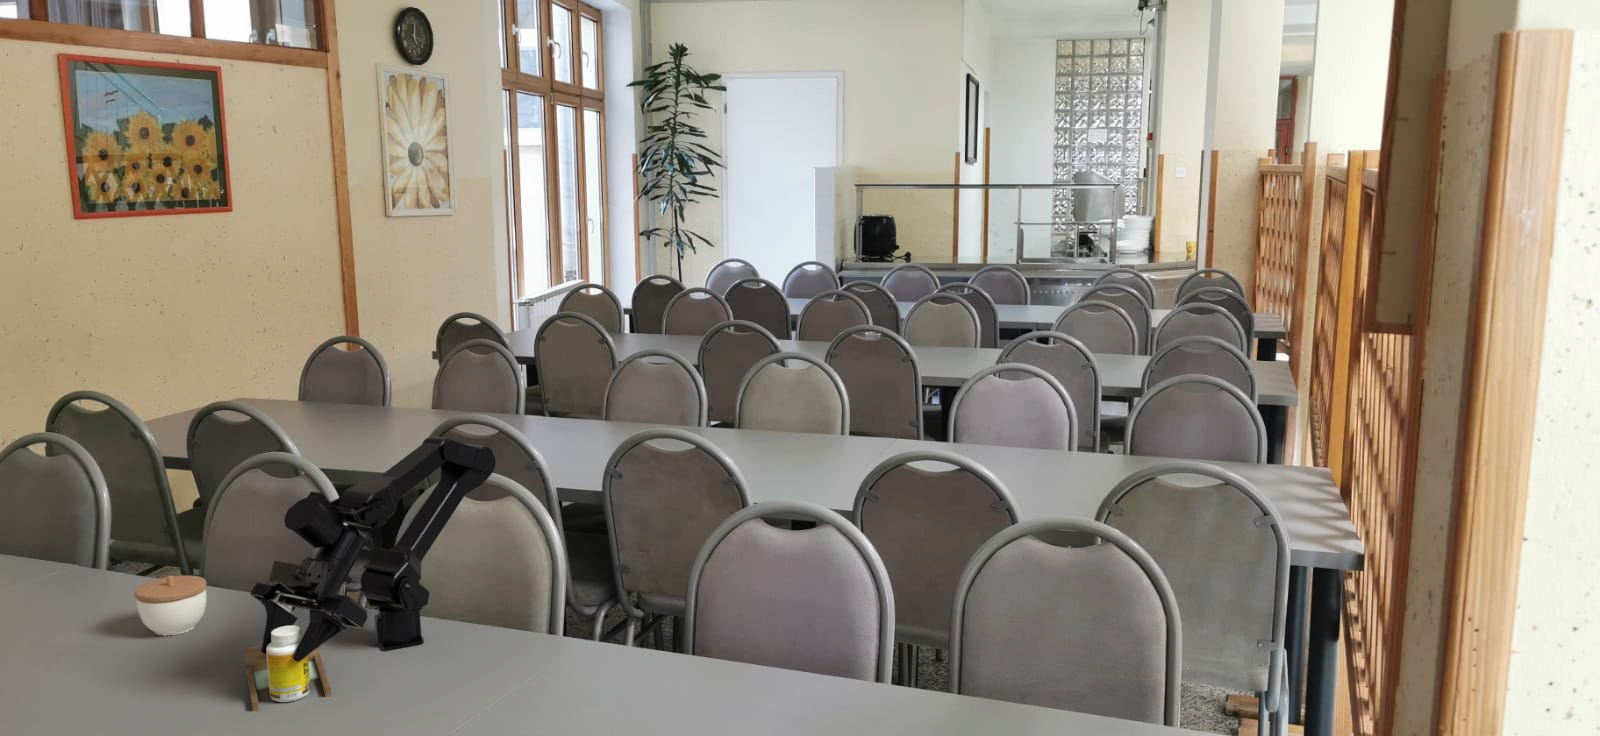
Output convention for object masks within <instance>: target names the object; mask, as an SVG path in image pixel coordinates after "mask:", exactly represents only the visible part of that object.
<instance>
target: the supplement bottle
mask: <svg viewBox="0 0 1600 736" xmlns="http://www.w3.org/2000/svg"><path fill="white" fill-rule="evenodd" d="M301 639H302V633H301V628H300V627H299V626H298V625H294V624H293V625H290V626H282V627H279V628H276V629H274V630H273V631H272V632H271V640H272V641H271V643H270V644H269V645H268V646H267V648H266V654H267V666H268V678H269V688H268V689H269V696H270V698H271V700H272V701H274V702H278V703H290V702H294V701H298V700H301V699H302V698H303V699H304V698H305V697H306V696H308V695H309V694H310V691H311V680H310V677H309V663H308V655H307V656H306V657H305V658H303V659H302V660H301V661H299V662H297V661H295V660H293V657H294V654H295V652H296V649H297V647H298V645H299V643H300V641H301Z"/></svg>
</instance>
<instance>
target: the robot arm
mask: <svg viewBox="0 0 1600 736" xmlns="http://www.w3.org/2000/svg"><path fill="white" fill-rule="evenodd" d="M496 463H497V462H496V457H495V455H494V452H493V451H492V449H491V447H488V446H484V445H483V446H482V445H475V444H470V443H468V444H467V443H461V442H458V441H456V440H453V439H452V438H449V437H441V436H434V435H433V436H429V437H427V438H425V439H424V440H423V441H422V444H420V445H419V446H418V447H416V448H415V449H414V450H413V451H411V452H410V453H409V454H408V455H406V456H405V457H403V458H402V459H401V460H400V461H398V462H396V464H394V465H392V466H391V467H390V468H388V469H387V470H386V471H384V473H382V474H381V475H379V476H378V477H375V478H373V479H368V480H365V481H361V482H359V483H357V484H355V485H353V486H350V487H349V488H346V489H345V490H344V491H343V492H342V493H341V494H340V496H338V498H335V499H334V500H331V501H329V499H328V498H327V497H326V495H325V494H323V493H322V492H319V491H310V492H309V493H308V495H307V496H306V497H305V498H301V499H300V500H299V501H296V502H295V503H294V504H293V505H292V506H290V507H289V508H288V509H287V511H286V514H285V515H284V525H285V527H286V528H287V529H288V530H289V531H290V532H292V533H293V534H295V535H296V536H297V537H298V538H300V539H301V540H302V541H304V543H306V544H307V545H309V547H312V548H314V549H317V550H316V552H315V554H314V556H313V558H312V557H308V556H307V557H306V558H304V559H303V560H302V562H301V563H300V564H298V563H291V562H285V561H279V560H275V559H274V560H273V563H272V567H271V570H270V573H269V577H268V580H266V579H263V580H260V581H258V582H255V585H254V586H253V588H252V590H251V591H250V594H249V595H250V596H251V597H253V598H254V599H256V600H257V601H258V602H260V604H261V605H262V606H264V608H265V611H266V619H265V620H266V623H265V629H264V632H263V633H264V634H263V639H262V644H261V645H262V649H261V652H262V653H264V654H266V648H267V646H268V645H269V644H270V643H271V641H272V640H271V632H272V631H273V630H274V629H276V628H279V627H282V626H290V625H293V626H294V624H295V623H296V621H298V619H299V617H296V616H295V615H294V614H292V612H294V611H295V609H296V608H297V609H303V610H308V611H309V624H308V626H307V628H306V629H305V632H304V634H303V636H301V638H302V639H301V641H300V643H299V645H298V647H297V649H296V652H295V654H294V657H293V660H295V661H297V662H299V661H301V660H302V659H303V658H305V657H306V656H307V655H308V654H310V653H311V652H312V651H314V650H315V649H316V648H318V647H319V648H320V646H321V645H323V644H325V643H326V642H327V641H329V640H330V639H331V638H333V637H335V636H336V635H338V634H339V633H340V632H347V629H348V628H347V627H349V628H354V629H359V630H362V629H363V627H364V625H365V623H366V621H367V620H368V610H367V609H366V608H365V607H364V606H362V605H361V604H360V603H359V602H357V601H356V600H354V599H353V598H352V597H351V596H347V595H342V594H338V593H339V592H340V590H341V588H342V586H343V585H350V584H351V582H352V580H353V578H352V577H350V576H349V573H350V571H351V570H352V568H353V566H354V564H355V563H356V561H357V559H358V557H359V556H360V554H361V553H362V552H361V551H362V550H365V551H366V550H367V551H374V550H375V544H374V541H373V539H372V533H371V532H367V531H361V530H360V529H358V528H357V527H358V526H359V527H363V528H364V527H365V528H371V529H379V528H380V527H382V526H383V525H384V524H386V523H387V521H388V520H389V519H390V518H391V517H392V516H393V515H394V513H395V512H396V511H397V509H398V505H399V501H400V500H402V498H403V497H404V496H406V495H407V494H408V493H409V492H410V491H412V490H413V489H414V488H416V487H417V486H418V485H419V484H420V483H421V482H423V481H424V480H425V479H427V478H428V477H429V476H430V475H432V474H433V473H434V472H435V471H437V470H438V469H439V476H440V477H439V480H438V481H439V482H438V483H437V485H436V486H434V489H433V490H432V492H431V493H430V495H429V496H428V497H427V499H426V500H425V502H424V503H423V504H422V506H421V508H419V510H418V512H417V513H416V515H415V516H414V518H413V520H412V521H411V522H410V524H409V525H408V527H407V528H406V530H405V531H404V533H403V534H402V535H401V536H400V538H399V539H398V541H397V543H396V544H395V545H394V546H393V547H391V548H389V549H386V548H380V547H379V548H377V549H376V550H375V551H374V552H373V554H372V556H371V558H370V560H369V561H368V562H367V563H366V564H365V565H363V569H364V570H363V573H362V574H361V576H360V588H361V593H362V594H363V596H364V597H365V599H366V602H367V604H368V606H369V607H377V614H375V615H374V616H373V618H374V633H375V640H376V642H377V644H379V645H380V647H381V649H382V650H383V651H388V650H393V649H394V650H395V649H398V648H404V647H409V646H410V647H411V646H414V645H415V646H416V645H420V644H423V643H425V639H424V637H423V636H422V626H421V625H422V624H421V610H423V608H424V607H426V606H428V604H429V598H430V591H429V590H428V589H427V588H426V587H424V586H423V585H421V584H420V581H421V579H422V561H423V560H424V558H425V556H426V555H427V554H428V552H429V550H430V549H431V547H433V544H434V543H435V541H436V539H437V538H438V537H439V535H440V534H441V532H442V531H443V529H444V528H445V527H446V525H447V523H448V521H449V520H450V518H451V517H452V515H453V514H454V513H455V511H456V509H457V508H458V506H459V505H460V503H461V502H462V500H463V499H464V497H465V496H466V495H468V494H469V493H471V492H473V491H474V490H477V489H478V488H480V487H482V486H483V484H484V483H485V482H486V481H487V479H489V477H491V475H492V474H493V473H494V470H495V469H496ZM346 524H348V525H346ZM353 525H354V526H353ZM355 526H357V527H355ZM292 591H293V592H292Z"/></svg>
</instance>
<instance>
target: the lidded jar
mask: <svg viewBox="0 0 1600 736" xmlns="http://www.w3.org/2000/svg"><path fill="white" fill-rule="evenodd" d="M134 597H135V601H136V607H137V612H138V615H139V617H140V620H141V622H142V623H143V624H144V625H145V626H146V628H148V629H149V630H151V631H152V632H154V634H155V635H156V634H157V636H159V635H163V636H162V637H170V636H169V635H173V636H178V635H181V633H182V634H185V632H186V633H188V632H190V631H192V630H194V629H195V627H196V625H197V623H199V621H200V620H201V619H202V617H203V615H204V614H205V611H206V608H207V597H208V596H207V580H206V579H205V578H203V577H201V576H198V575H176V576H175V575H168V576H166V577H162V578H159V579H154V580H151V581H148V582H145V583H144V584H141V585H140V586H138V587H137V588H136V589H135V590H134ZM189 630H190V631H189ZM177 634H178V635H177ZM167 635H168V636H167Z"/></svg>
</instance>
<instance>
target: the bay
mask: <svg viewBox="0 0 1600 736" xmlns="http://www.w3.org/2000/svg"><path fill="white" fill-rule="evenodd" d="M261 649H262V644H261V645H256V646H255V645H254V646H250V647H245V648H244V659H245V667H246V668H245V669H246V671H245V672H246V677H247V678H246V679H247V684H248V689H249V697H250V702H251V708H252V712H256V711H259V710H260V708H259V700H258V693H257V691H261V690H266V689H269V678H268V666H267V654H264V653H262V652H261ZM308 663H309V677H310V681H312V680H313V681H314V680H317V679H319V680H320V683H321V686H322V690H323V694H324V696H325V697H327V698H328V697H330V696H331V697H332V689H331V685H330V682H329V679H328V676H327V672H326V670H325V667H324V663H323V659H322V656H321V655H320V646H319V647H318V648H316V649H315V650H314V651H312V652H311V653H310V654H308Z"/></svg>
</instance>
